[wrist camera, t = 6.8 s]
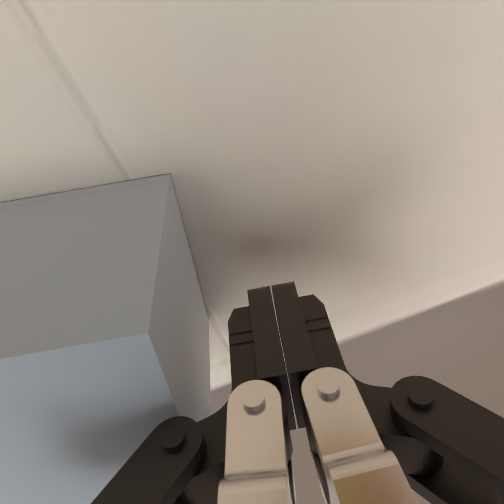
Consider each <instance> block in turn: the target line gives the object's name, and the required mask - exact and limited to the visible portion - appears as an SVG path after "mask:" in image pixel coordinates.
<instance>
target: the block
mask: <svg viewBox="0 0 504 504" xmlns="http://www.w3.org/2000/svg"><path fill="white" fill-rule="evenodd" d="M210 405H211V403H210V359H209V318H208V315H207V311H206V307H205V303H204V300H203V296H202V292H201V288H200V285H199V281H198V277H197V273H196V269H195V266H194V262H193V258H192V254H191V251H190V247H189V243H188V239H187V235H186V232H185V228H184V224H183V220H182V217H181V213H180V209H179V205H178V201H177V198H176V194H175V190H174V186H173V183H172V179H171V175H170V174H165V175H159V176H153V177H147V178H141V179H136V180H130V181H124V182H118V183H112V184H106V185H101V186H95V187H89V188H83V189H77V190H71V191H65V192H60V193H54V194H48V195H42V196H36V197H30V198H25V199H19V200H13V201H7V202H1V203H0V504H91V503H92V501H93V500H94V499H95V498H96V497H97V496H98V494H99V493H100V492H101V491H102V490H103V489H104V487H105V486H106V485H107V484H108V483H109V481H110V480H111V479H112V478H113V477H114V476H115V474H116V473H117V472H118V471H119V470H120V469H121V467H122V466H123V465H124V464H125V463H126V461H127V460H128V459H129V458H130V457H131V456H132V454H133V453H134V452H135V451H136V450H137V449H138V447H139V446H140V445H141V444H142V443H143V441H144V440H145V439H146V438H147V437H148V436H149V434H150V433H151V432H152V431H153V430H154V429H155V428H156V427H157V426H158V425H159V424H160V423H161V422H163V421H165V420H167V419H169V418H172V417H176V416H185V417H189V418H192V419H193V420H195V421H196V422H199V421H201V420H203V419H205V418H207V417H209V416H211V406H210Z"/></svg>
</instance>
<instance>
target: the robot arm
mask: <svg viewBox="0 0 504 504" xmlns="http://www.w3.org/2000/svg"><path fill="white" fill-rule="evenodd" d="M272 292H273V298H274V304H275V310H276V315H275V310H274V305H273V300H272V295H271V290H270V286H267V287H261V288H256V289H250V290H248V299H249V306H247V307H242V308H236V309H234V310H233V312H232V314H231V316H230V318H229V320H228V330H229V345H230V362H231V378H232V392H231V395H230V396H229V399H228V401H227V402H226V404H225V405H224V406H223V407H222V408H221V409H220V410H219V411H217V412H216V413H214V414H213V415H211V416H209V417H207V418H205V419H203V420H201V421H199V422H196V421H195V420H193V419H192V418H189V417H185V416H176V417H172V418H169V419H167V420H165V421H163V422H161V423H160V424H159V425H158V426H157V427H156V428H155V429H154V430H153V431H152V432H151V433H150V434H149V436H148V437H147V438H146V439H145V440H144V441H143V443H142V444H141V445H140V446H139V447H138V449H137V450H136V451H135V452H134V453H133V454H132V456H131V457H130V458H129V459H128V460H127V461H126V463H125V464H124V465H123V466H122V467H121V469H120V470H119V471H118V472H117V473H116V474H115V476H114V477H113V478H112V479H111V480H110V481H109V483H108V484H107V485H106V486H105V487H104V489H103V490H102V491H101V492H100V493H99V494H98V496H97V497H96V498H95V499H94V500H93V501H92V503H91V504H296V495H295V484H294V473H293V463H292V451H293V449H292V441H291V436H290V430H293V429H296V424H295V419H294V413H293V407H292V401H291V395H290V389H291V393H292V398H293V404H294V409H295V414H296V418H297V424H298V428H304V427H306V431H307V435H308V440H309V446H310V452H311V457H312V460H313V464H314V467H315V470H316V473H317V477H318V480H319V484H320V487H321V491H322V494H323V497H324V501H325V504H418V503H417V500H416V498H415V496H414V494H413V492H412V490H411V489H413V490H414V491H415V492H417V493H418V494H419V495H421V496H422V497H423V498H425V499H426V500H427V501H429V502H430V503H431V504H504V418H502V417H501V416H499V415H497V414H495V413H493V412H491V411H489V410H488V409H486V408H484V407H482V406H480V405H479V404H477V403H475V402H473V401H471V400H469V399H468V398H466V397H464V396H462V395H460V394H458V393H456V392H455V391H453V390H451V389H449V388H447V387H445V386H444V385H442V384H440V383H438V382H436V381H434V380H432V379H429V378H427V377H422V376H410V377H405V378H402V379H401V380H399V381H397V382H396V383H395V384H394V386H393V387H392V388H388V387H378V386H371V385H367V384H364V383H362V382H360V381H358V380H356V379H355V378H354V377H352V376H351V375H350V374H349V373H348V371H347V369H346V367H345V365H344V362H343V360H342V356H341V353H340V350H339V348H338V345H337V342H336V339H335V336H334V333H333V330H332V328H331V324H330V321H329V319H328V315H327V313H326V310H325V307H324V304H323V303H322V302H321V301H320V300H319V299H318V298H316V297H315V296H314V295H308V296H303V297H298V294H297V291H296V287H295V284H294V282H289V283H283V284H278V285H272ZM276 316H277V321H276ZM277 322H278V326H277ZM278 327H279V331H278ZM279 333H280V336H279ZM280 338H281V341H280ZM281 343H282V346H281ZM282 348H283V351H282ZM283 353H284V356H283ZM284 358H285V361H284ZM285 363H286V366H285ZM286 368H287V371H286ZM287 373H288V377H287ZM288 378H289V383H288ZM289 384H290V389H289Z"/></svg>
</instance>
